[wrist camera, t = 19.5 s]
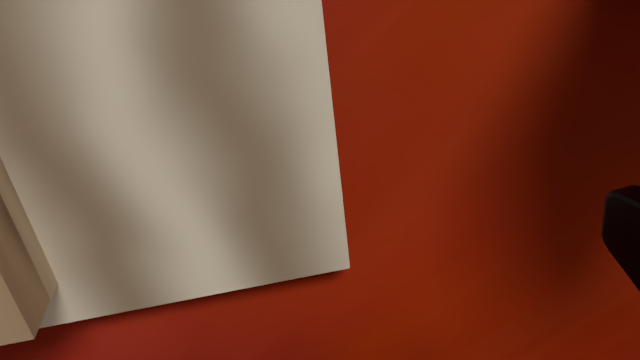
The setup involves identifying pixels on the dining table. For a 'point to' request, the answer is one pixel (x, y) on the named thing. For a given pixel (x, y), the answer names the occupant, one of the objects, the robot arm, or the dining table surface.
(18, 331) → the block
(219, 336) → the dining table surface
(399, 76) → the dining table surface
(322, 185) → the birch board
